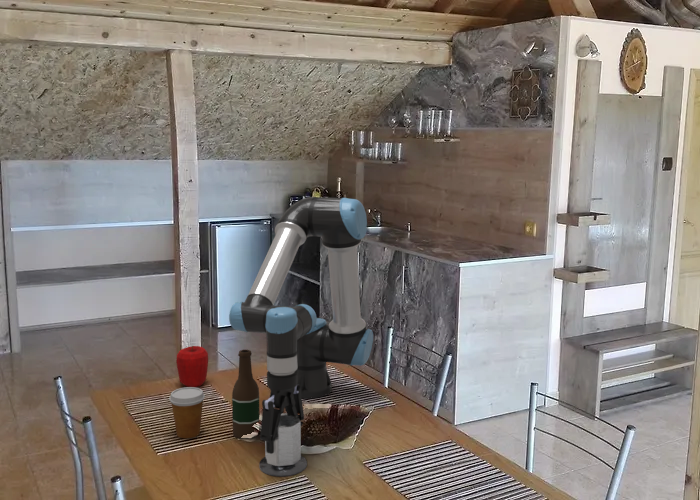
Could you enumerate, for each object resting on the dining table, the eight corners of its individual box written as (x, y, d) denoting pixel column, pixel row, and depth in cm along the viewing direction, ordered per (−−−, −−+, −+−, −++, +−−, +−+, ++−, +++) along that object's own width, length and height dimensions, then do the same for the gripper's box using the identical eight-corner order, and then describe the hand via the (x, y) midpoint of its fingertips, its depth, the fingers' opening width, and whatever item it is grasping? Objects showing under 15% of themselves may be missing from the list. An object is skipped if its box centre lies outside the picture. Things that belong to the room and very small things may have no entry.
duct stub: (294, 450, 186) (294, 419, 185) (315, 469, 176) (315, 436, 174) (251, 461, 180) (251, 429, 179) (271, 481, 170) (270, 447, 169)
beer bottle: (265, 430, 199) (264, 348, 195) (252, 441, 191) (251, 356, 187) (240, 426, 201) (238, 345, 197) (227, 437, 194) (225, 353, 190)
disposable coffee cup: (197, 442, 191) (196, 400, 189) (164, 439, 192) (163, 397, 190) (211, 428, 200) (210, 387, 198) (179, 425, 202) (178, 385, 200)
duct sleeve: (306, 455, 179) (305, 417, 178) (287, 468, 172) (286, 430, 170) (279, 447, 183) (278, 411, 182) (259, 460, 176) (258, 422, 175)
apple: (184, 378, 239) (182, 340, 237) (213, 380, 238) (212, 341, 235) (172, 390, 229) (170, 349, 226) (202, 391, 227) (201, 351, 225)
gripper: (293, 356, 185) (294, 437, 189) (243, 381, 167) (245, 470, 170) (317, 361, 181) (318, 443, 185) (268, 386, 163) (270, 478, 167)
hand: (283, 456), depth 178 cm, fingers closed on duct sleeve, 8 cm apart
